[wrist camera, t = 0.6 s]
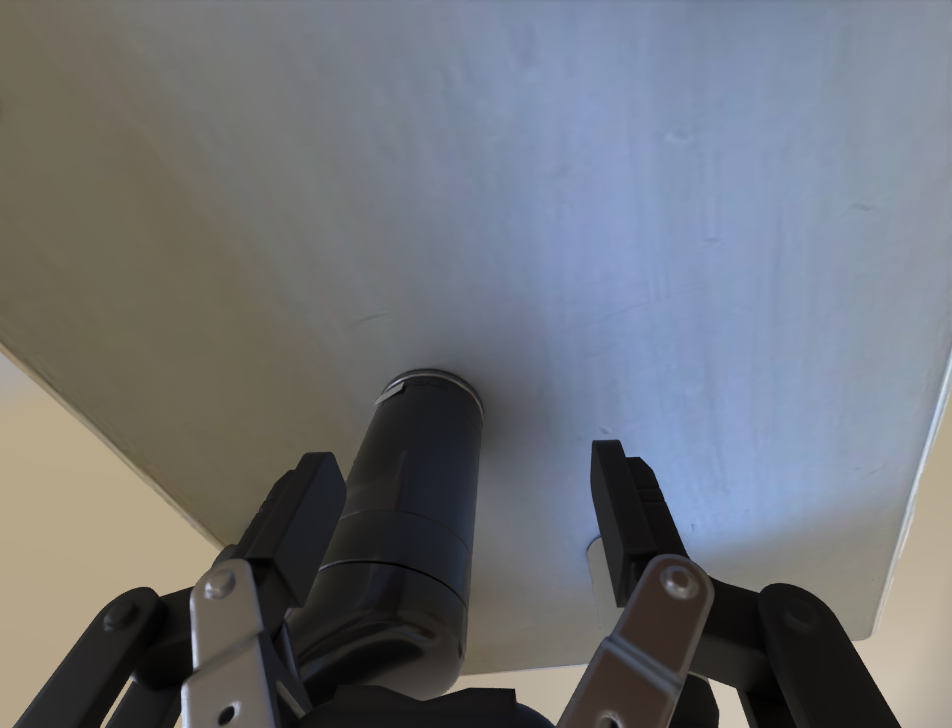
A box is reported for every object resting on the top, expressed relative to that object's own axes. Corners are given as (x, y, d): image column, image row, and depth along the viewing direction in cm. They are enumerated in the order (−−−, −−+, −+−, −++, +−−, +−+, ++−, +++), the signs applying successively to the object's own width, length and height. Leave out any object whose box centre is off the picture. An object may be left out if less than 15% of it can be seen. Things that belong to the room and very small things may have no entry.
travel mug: (572, 557, 47) (604, 772, 32) (615, 518, 43) (675, 742, 28) (629, 578, 49) (686, 793, 33) (676, 543, 45) (764, 768, 30)
